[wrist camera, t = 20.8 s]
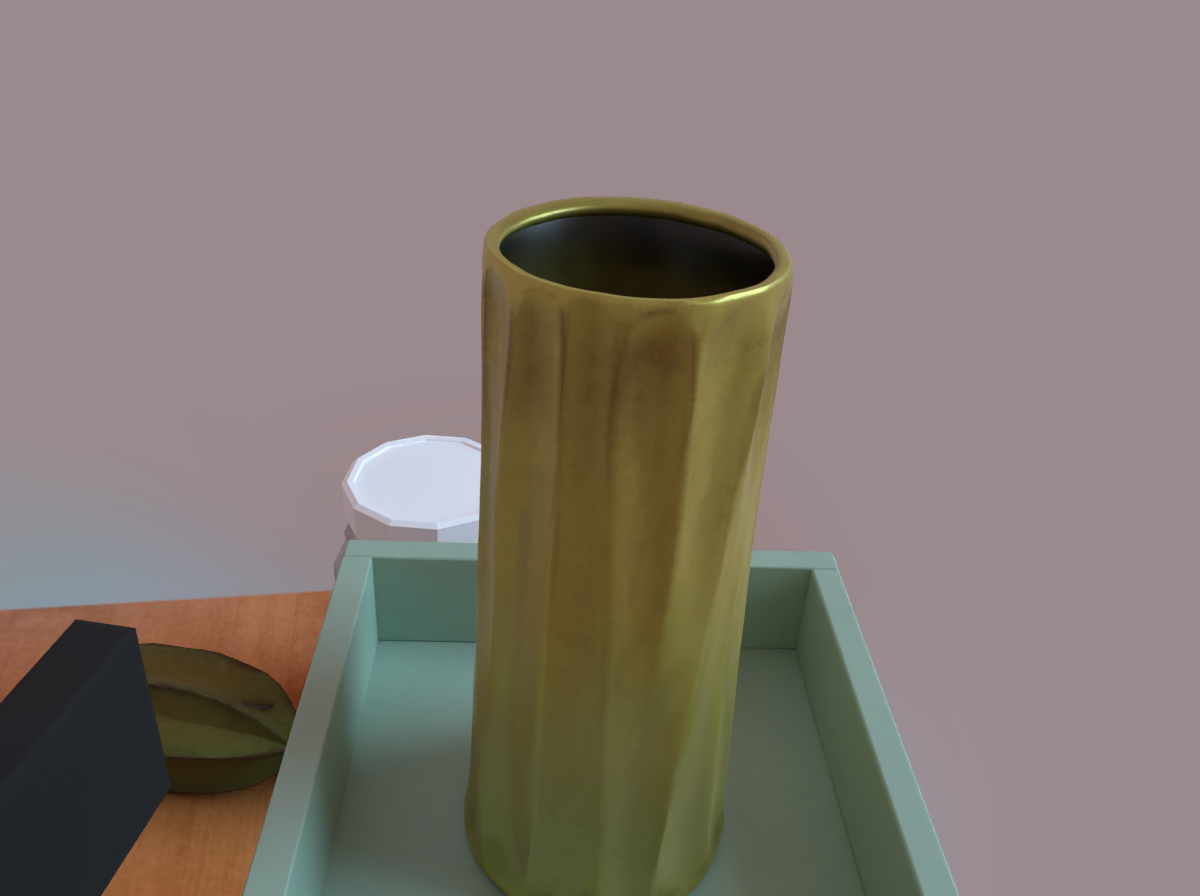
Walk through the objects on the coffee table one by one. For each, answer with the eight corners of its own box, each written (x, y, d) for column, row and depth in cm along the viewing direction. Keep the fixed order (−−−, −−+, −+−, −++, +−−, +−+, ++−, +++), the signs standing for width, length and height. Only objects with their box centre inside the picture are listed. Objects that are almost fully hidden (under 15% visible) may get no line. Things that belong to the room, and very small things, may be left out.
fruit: (248, 665, 64) (234, 579, 60) (317, 801, 55) (307, 710, 52) (43, 735, 58) (15, 645, 55) (86, 899, 50) (56, 804, 46)
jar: (350, 690, 62) (327, 430, 53) (513, 674, 64) (518, 420, 55) (351, 823, 54) (324, 543, 45) (537, 800, 56) (547, 527, 47)
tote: (955, 1145, 20) (1010, 1026, 18) (232, 1150, 19) (202, 1026, 17) (810, 657, 32) (833, 550, 30) (356, 648, 31) (347, 538, 29)
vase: (736, 934, 22) (858, 324, 15) (450, 929, 22) (433, 305, 15) (706, 723, 28) (786, 195, 20) (475, 717, 27) (471, 180, 20)
